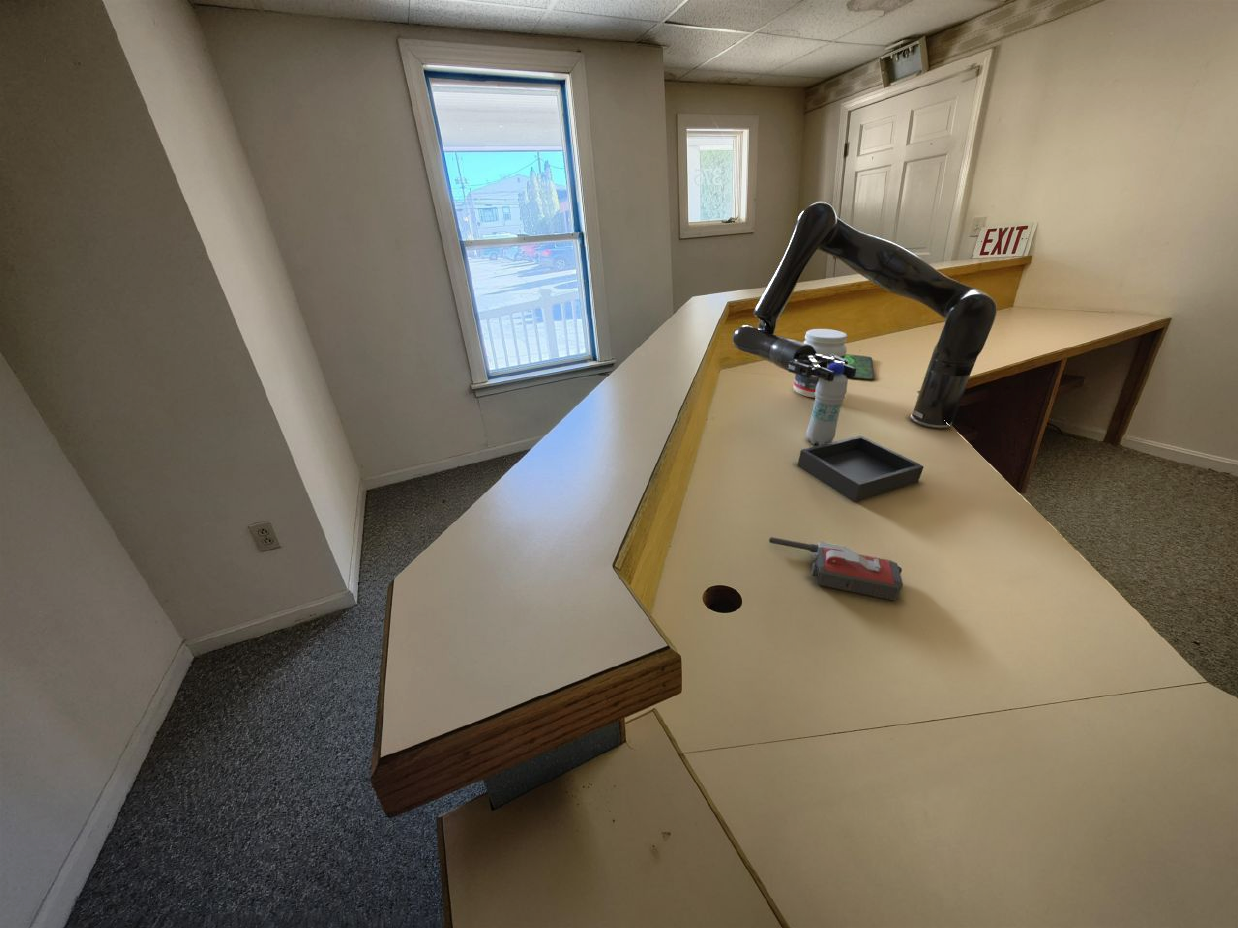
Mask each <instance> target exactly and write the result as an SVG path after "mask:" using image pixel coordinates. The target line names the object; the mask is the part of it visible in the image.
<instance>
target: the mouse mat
mask: <svg viewBox="0 0 1238 928" xmlns="http://www.w3.org/2000/svg"><path fill="white" fill-rule="evenodd" d="M845 360H848V364H847V365H849V366H852V367H855V368H856V373H855V376H854V377H848V376H845V375H844V376H845V377H847V379H848V378H849V379H855V380H856V379H857V380H865V381H873V380H875V375H874V374H875V372H874V364H873V357H871V356H868V355H859V354H848V353H846V355H845ZM842 375H843V374H842Z"/></svg>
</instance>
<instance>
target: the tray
mask: <svg viewBox="0 0 1238 928" xmlns="http://www.w3.org/2000/svg"><path fill="white" fill-rule="evenodd" d="M797 466H798V467H799V468H800V469H803V471H805V472H807V473H809V474H810V475H812V476H813V477H815V478H817V479H818V480H820V481H821V482H822V483H824V484H826V485H828V487H830V488H832V489H833V490H835V491H836V492H838V493H840V494H841V495H842V496H844V497H846V498H847V499H849V500H850V501H852V502H854V503H856V502H858V501H862V500H865V499H868V498H872V497H875V496H878V495H882V494H884V493H885V494H886V493H888V492H891V491H894V490H898V489H901V488H904V487H905V488H906V487H908V486H910V485H915V484H918V483H919V481H920V477H921V475H922V472H923V470H924V467H925V466H924V465H923V464H920V463H918V462H916V461H914V460H913V459H910V458H908V457H906V456H904V455H902V454H900V453H897V452H896V451H894V450H892V449H889V448H888V447H885V446H884V445H881V444H880V443H877V442H875V441H873V440H872V439H869V438H867V437H865V436H863V435H857V436H856V435H855V436H852V437H849V438H844V439H840V440H836V441H832V442H831V443H827V444H825V443H824V444H823V445H819V444H818V445H815V446H811V447H806V448H802V449H800V452H799V457H798V462H797Z"/></svg>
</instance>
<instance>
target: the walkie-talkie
mask: <svg viewBox="0 0 1238 928" xmlns="http://www.w3.org/2000/svg"><path fill="white" fill-rule="evenodd" d="M768 542H769V543H770V544H773V545H779V546H783V547H784V546H785V547H788V548H789V547H790V548H795V549H800V550H804V551H809V552H811V553H813V554H812V555H811V560H812V561H814V562H813V563H812V565H811V572H810V574H811V576H812V577H815V581H816V584H817V585H818V586H823V587H828V588H833V589H836V590H837V589H838V590H840V591H841V590H842V591H847V592H852V593H856V594H861V595H867V596H871V597H876V598H880V599H884V600H890V601H895V600H898V598H899V596H900V594H901V591H902V589H903V585H904V584H903V583H904V582H903V579H902V576H901V574H902V572H903V568H902V567H901V566H899V564H898V562H896V561H893V560H891V559H885V558H881V557H875V556H869V555H865V554H859V553H858V552H856V551H854V550H852V549H851V548H849V547H847V546H845V545H839V544H833V543H828V542H826V541H822V540H820V541H819V542H818V544H815V543H805V542H799V541H794V540H789V539H784V538H778V537H773V536H771V537H769V539H768Z"/></svg>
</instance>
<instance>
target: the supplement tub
mask: <svg viewBox="0 0 1238 928" xmlns="http://www.w3.org/2000/svg"><path fill="white" fill-rule="evenodd" d="M804 339H805V340H804V341H803V342H802V343H805V344H808V345H811V346H813V347H814V349H815V351H816V353H817V354H821V355H823V356H826V357H830V355H832V354H834V355H836V356H838V357H841V358H843V359H845V355H846V354H847V352H848V348H847V345H846V344H845V343H847V341H848V340H847V339H848V334H847V333H846V332H845V331H841V330H836V329H830V328H813V329H809V330H807V331H806V332H805V336H804ZM828 366H829V365H828V364H827V368H826V369H828ZM818 381H819V377H816V378H815V377H813V376H810V378H806V377H803V376H800V375H797V374H794V380H793V384H792V387H793V390H794V391H795V392H796V393H797V394H799V395H800V396H804V397H807V398H812V399H813V398H814V399H815V397H816V396H815V392H816V386H817V383H818Z"/></svg>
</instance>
